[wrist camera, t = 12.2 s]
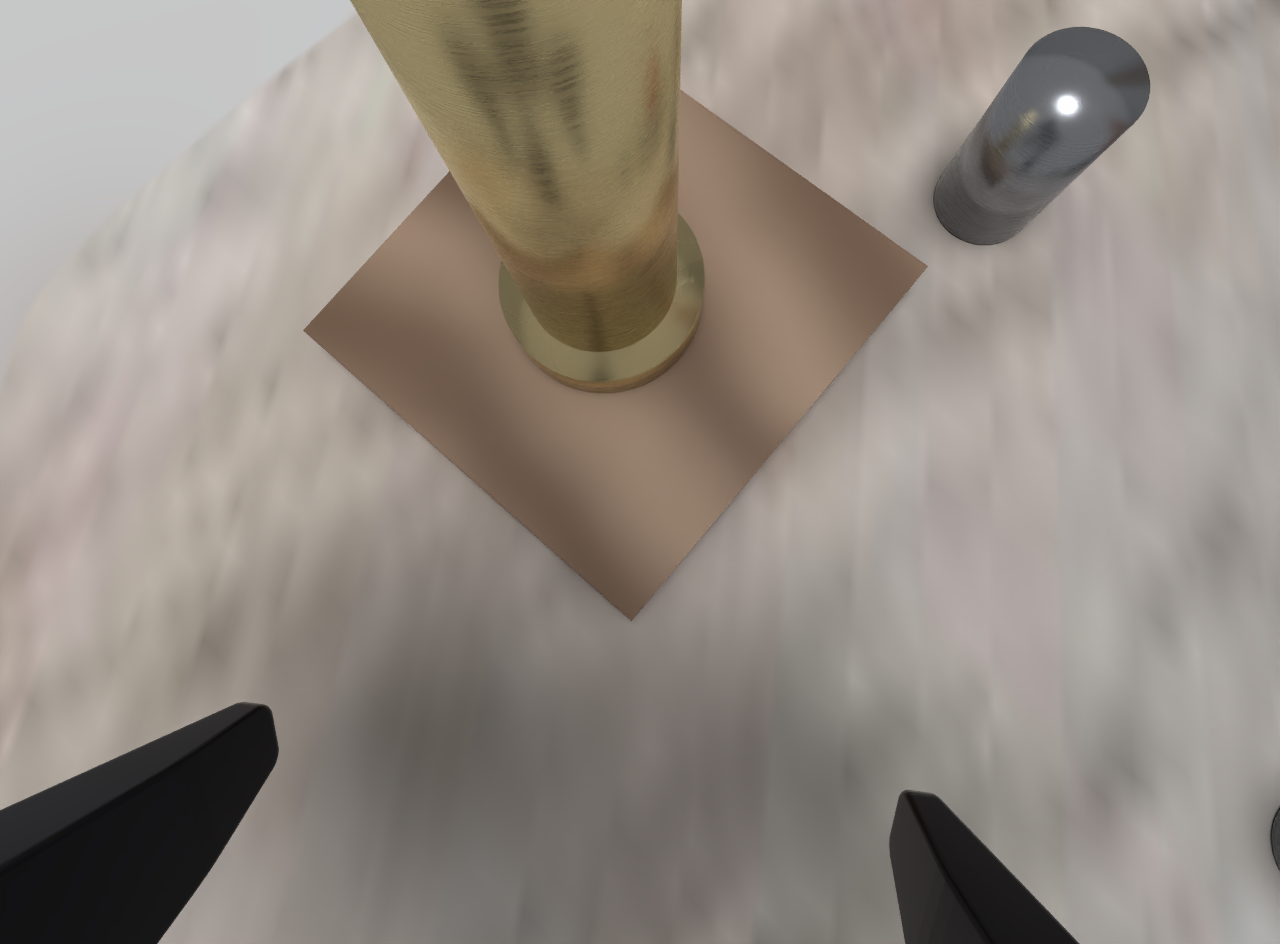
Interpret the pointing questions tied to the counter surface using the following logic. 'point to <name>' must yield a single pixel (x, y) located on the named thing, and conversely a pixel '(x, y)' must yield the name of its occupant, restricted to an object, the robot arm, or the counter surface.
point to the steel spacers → (1044, 141)
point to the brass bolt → (563, 168)
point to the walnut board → (645, 416)
